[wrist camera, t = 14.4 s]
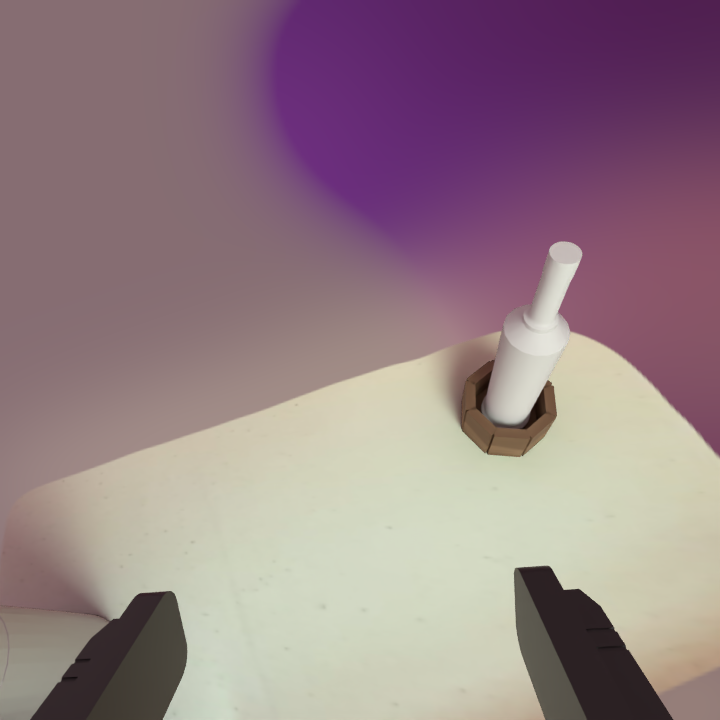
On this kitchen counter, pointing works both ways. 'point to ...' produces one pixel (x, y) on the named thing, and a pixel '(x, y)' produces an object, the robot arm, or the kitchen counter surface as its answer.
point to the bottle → (531, 343)
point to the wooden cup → (504, 438)
